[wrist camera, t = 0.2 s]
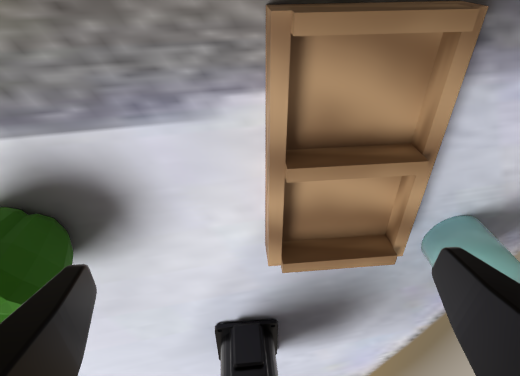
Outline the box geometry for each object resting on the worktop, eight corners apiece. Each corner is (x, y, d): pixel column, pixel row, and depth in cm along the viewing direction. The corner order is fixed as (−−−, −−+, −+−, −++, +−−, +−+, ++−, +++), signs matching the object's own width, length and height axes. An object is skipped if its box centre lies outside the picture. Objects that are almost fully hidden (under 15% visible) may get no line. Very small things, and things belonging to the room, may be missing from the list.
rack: (390, 235, 29) (406, 263, 26) (265, 244, 28) (269, 273, 26) (460, 0, 19) (499, 8, 16) (265, 4, 18) (273, 13, 15)
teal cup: (469, 257, 32) (514, 312, 27) (414, 261, 31) (449, 318, 27) (492, 213, 29) (547, 266, 24) (431, 217, 28) (474, 272, 23)
